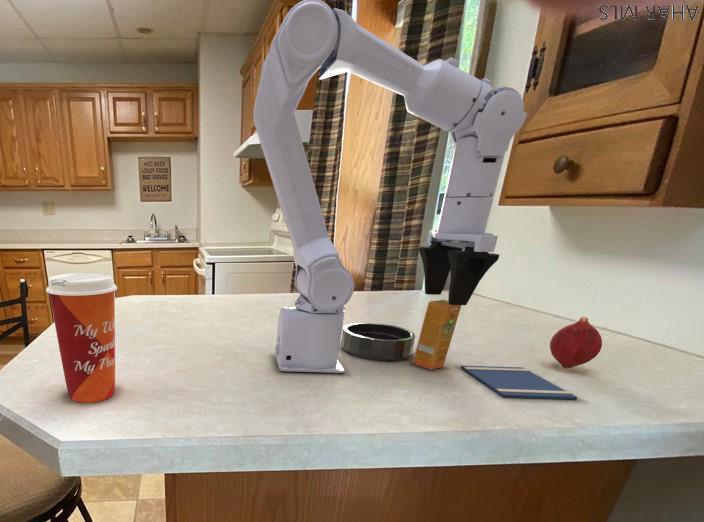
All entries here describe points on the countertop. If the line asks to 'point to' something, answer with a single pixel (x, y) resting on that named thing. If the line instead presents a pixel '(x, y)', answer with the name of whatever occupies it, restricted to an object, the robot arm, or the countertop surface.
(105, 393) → the coffee cup
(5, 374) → the countertop surface
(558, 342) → the onion
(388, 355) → the pan
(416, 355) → the supplement box
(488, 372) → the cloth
